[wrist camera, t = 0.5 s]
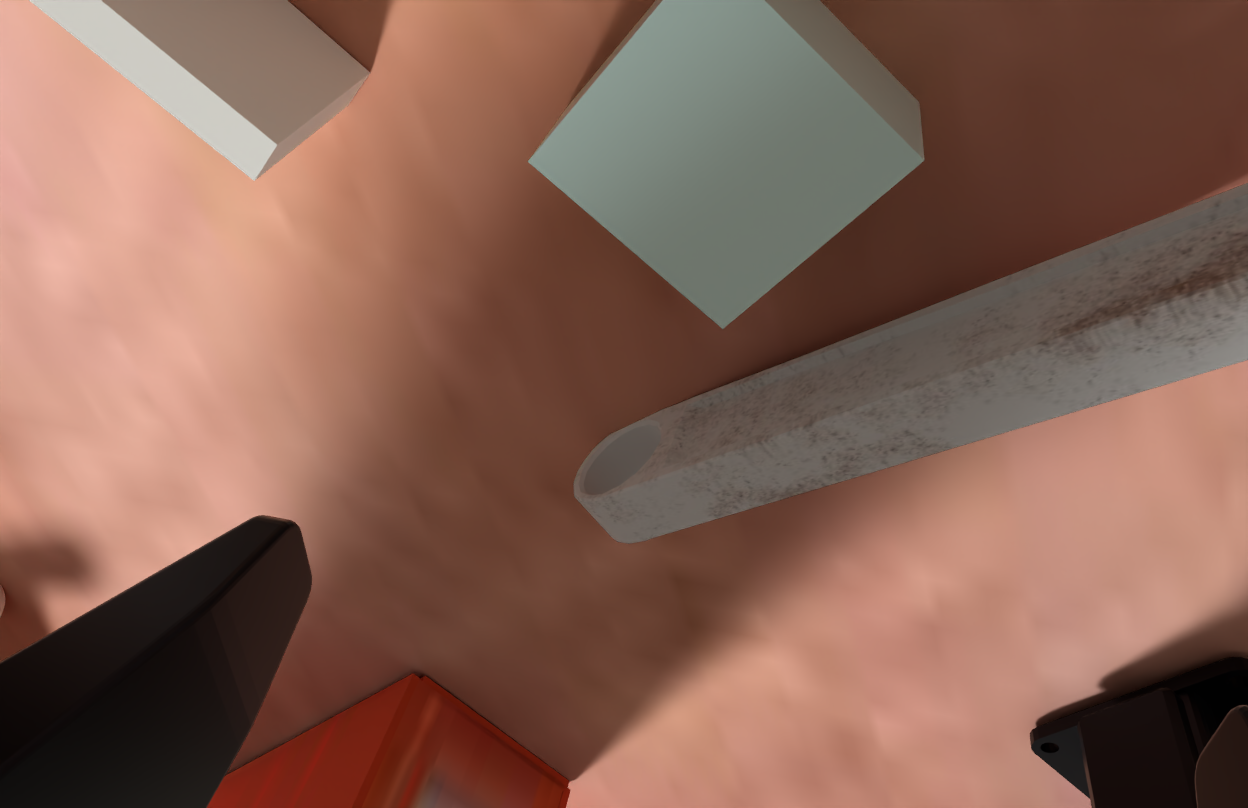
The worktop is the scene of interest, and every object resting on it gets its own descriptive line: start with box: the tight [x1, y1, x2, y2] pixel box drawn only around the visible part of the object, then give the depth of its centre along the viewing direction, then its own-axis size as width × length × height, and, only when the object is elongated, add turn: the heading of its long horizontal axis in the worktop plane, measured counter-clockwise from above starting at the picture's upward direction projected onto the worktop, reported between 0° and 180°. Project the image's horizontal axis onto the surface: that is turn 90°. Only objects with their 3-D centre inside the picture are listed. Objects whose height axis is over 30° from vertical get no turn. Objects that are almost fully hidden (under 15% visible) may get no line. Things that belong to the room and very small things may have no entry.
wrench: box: [573, 183, 1248, 544], centre depth 16 cm, size 8×2×30 cm
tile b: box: [528, 0, 924, 329], centre depth 18 cm, size 5×5×3 cm
